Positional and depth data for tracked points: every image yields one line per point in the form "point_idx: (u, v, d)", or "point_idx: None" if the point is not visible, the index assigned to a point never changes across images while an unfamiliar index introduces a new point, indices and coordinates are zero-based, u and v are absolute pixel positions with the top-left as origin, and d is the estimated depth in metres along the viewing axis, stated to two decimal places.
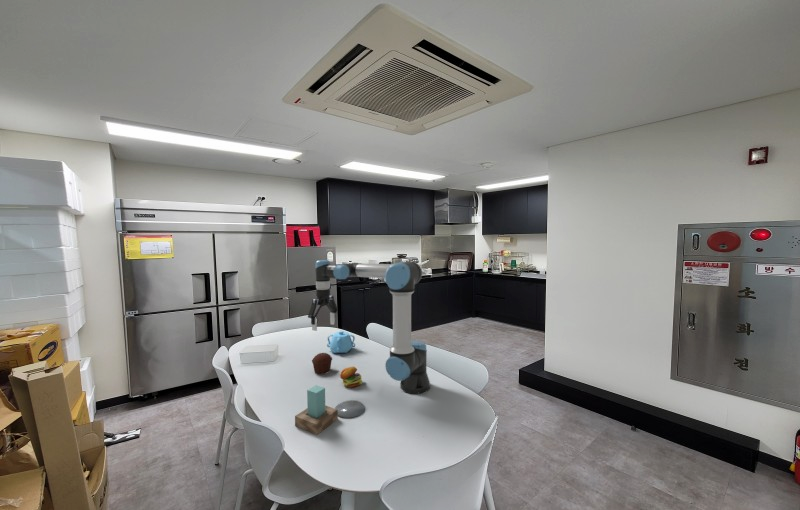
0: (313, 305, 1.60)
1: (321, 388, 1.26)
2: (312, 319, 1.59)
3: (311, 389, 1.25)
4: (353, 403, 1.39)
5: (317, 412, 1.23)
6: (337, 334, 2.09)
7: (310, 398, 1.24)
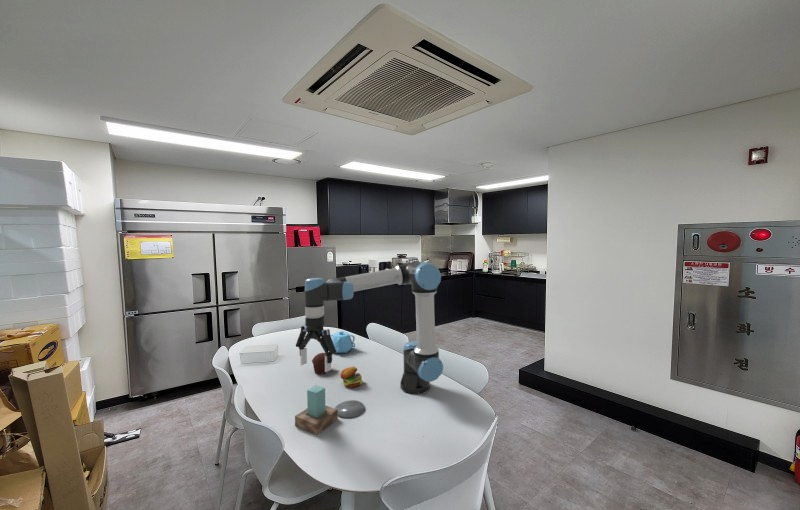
0: None
1: (321, 388, 1.26)
2: (300, 349, 1.29)
3: (311, 389, 1.25)
4: (353, 403, 1.39)
5: (317, 412, 1.23)
6: (337, 334, 2.09)
7: (310, 398, 1.24)
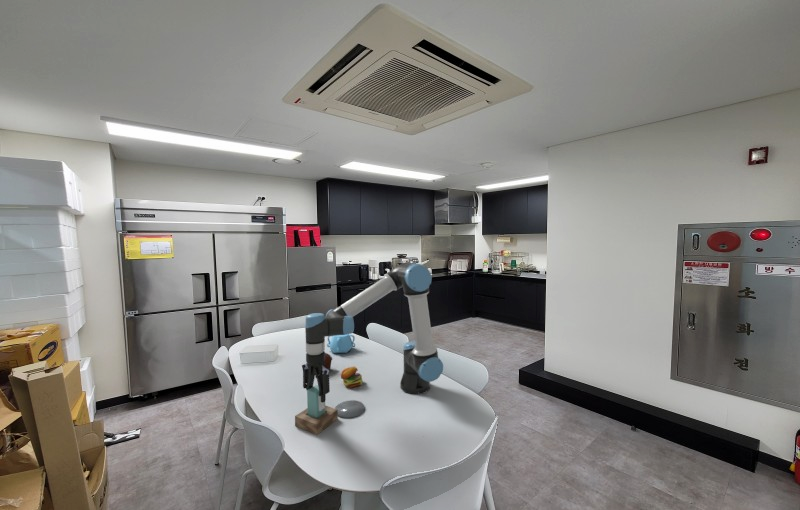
0: None
1: None
2: None
3: (311, 389, 1.25)
4: (353, 403, 1.39)
5: (317, 412, 1.23)
6: None
7: (310, 398, 1.24)
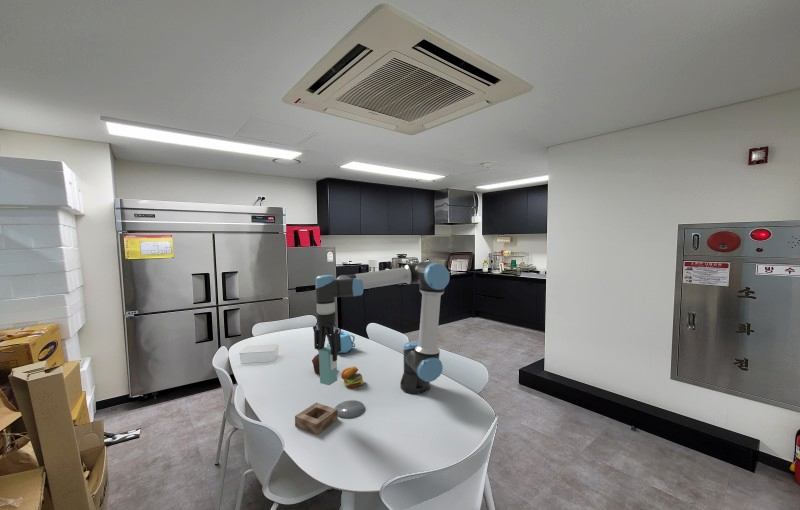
0: None
1: None
2: None
3: (322, 349, 1.27)
4: (353, 403, 1.39)
5: (329, 371, 1.25)
6: None
7: (322, 358, 1.26)
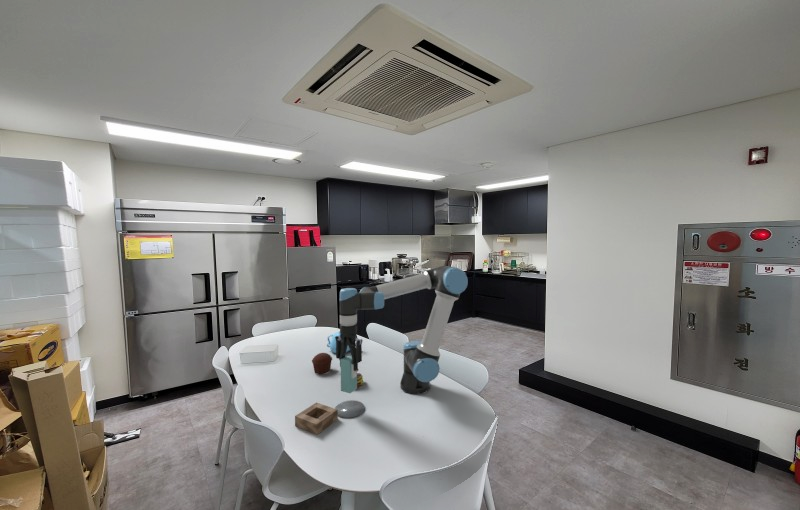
0: None
1: None
2: (340, 360, 1.36)
3: (344, 358, 1.34)
4: (353, 403, 1.39)
5: (350, 380, 1.32)
6: (337, 334, 2.09)
7: (344, 367, 1.33)
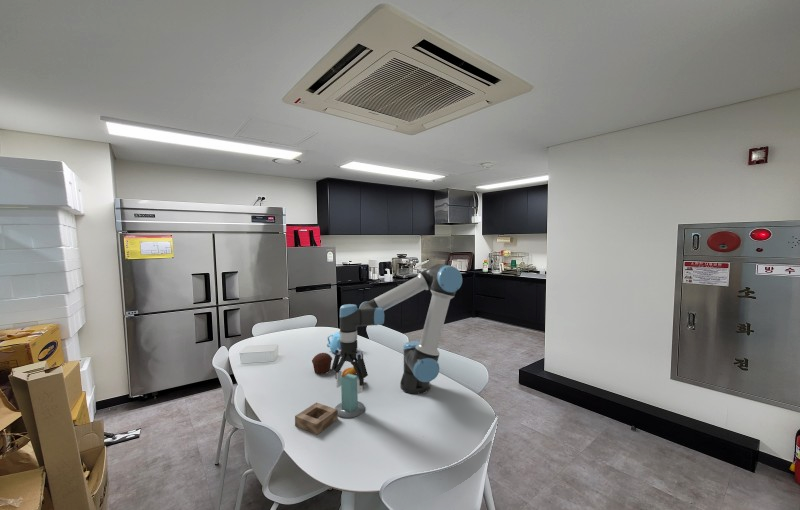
0: None
1: (354, 376, 1.35)
2: None
3: (345, 377, 1.34)
4: None
5: (351, 398, 1.32)
6: (337, 334, 2.09)
7: (344, 385, 1.33)
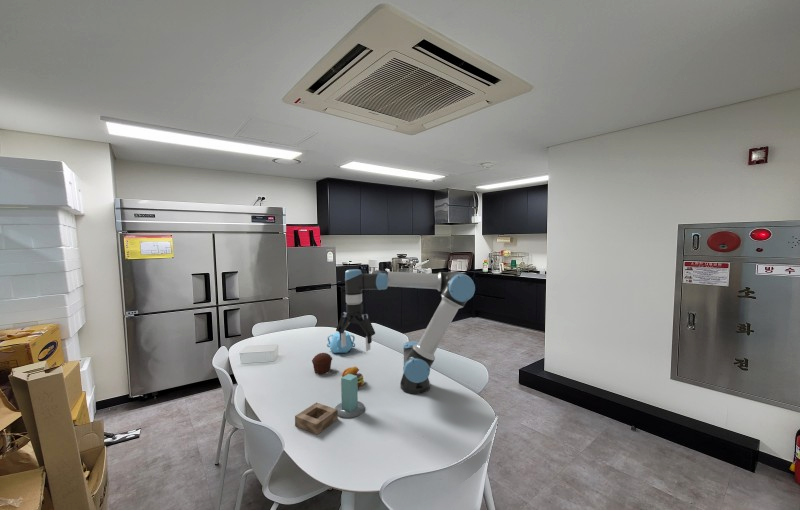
0: None
1: (354, 376, 1.35)
2: (340, 333, 1.45)
3: (345, 377, 1.34)
4: None
5: (351, 398, 1.32)
6: (337, 334, 2.09)
7: (344, 385, 1.33)
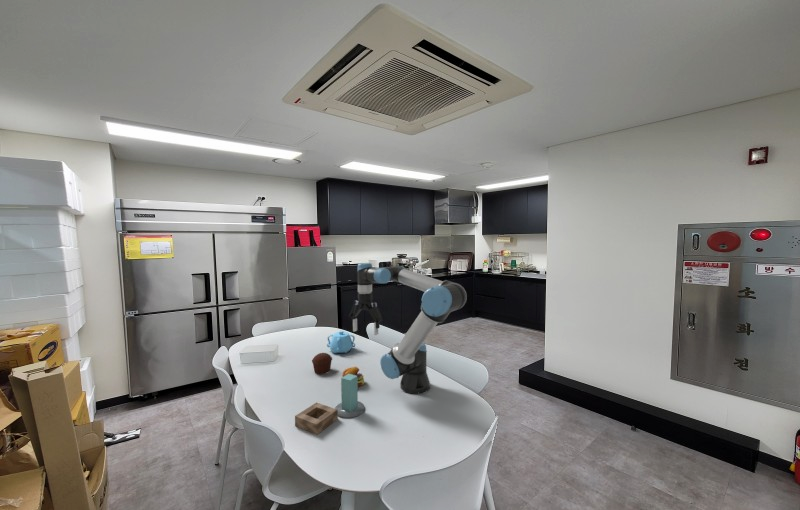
0: None
1: (354, 376, 1.35)
2: (352, 319, 1.64)
3: (345, 377, 1.34)
4: None
5: (351, 398, 1.32)
6: (337, 334, 2.09)
7: (344, 385, 1.33)
